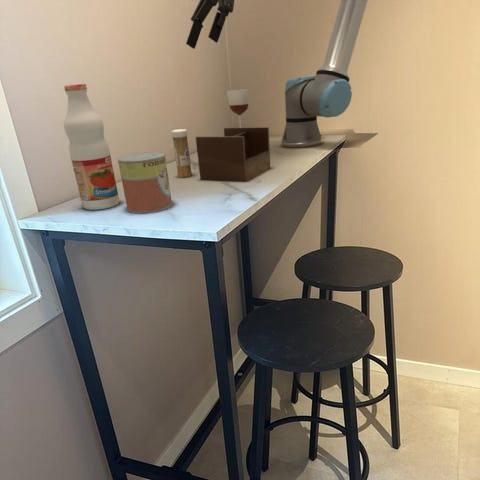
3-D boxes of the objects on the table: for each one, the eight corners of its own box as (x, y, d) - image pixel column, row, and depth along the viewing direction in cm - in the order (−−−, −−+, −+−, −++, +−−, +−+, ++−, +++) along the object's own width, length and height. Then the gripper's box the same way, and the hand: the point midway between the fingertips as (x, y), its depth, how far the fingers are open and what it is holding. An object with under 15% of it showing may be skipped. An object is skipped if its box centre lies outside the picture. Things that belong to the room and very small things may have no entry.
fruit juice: (97, 199, 125) (72, 84, 112) (127, 200, 122) (104, 82, 108) (75, 209, 118) (44, 87, 104) (105, 211, 114) (78, 84, 101)
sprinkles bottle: (188, 177, 141) (182, 130, 135) (175, 177, 143) (168, 131, 136) (194, 174, 145) (189, 128, 139) (181, 174, 147) (175, 129, 140)
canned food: (163, 212, 109) (155, 160, 104) (119, 213, 112) (109, 162, 106) (178, 199, 119) (171, 151, 113) (137, 200, 121) (128, 153, 115)
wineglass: (232, 143, 194) (228, 90, 184) (253, 142, 193) (250, 88, 183) (229, 146, 187) (225, 92, 178) (251, 145, 186) (247, 90, 176)
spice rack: (228, 167, 151) (225, 127, 146) (270, 168, 145) (268, 127, 139) (200, 179, 138) (195, 137, 132) (245, 181, 131) (242, 136, 125)
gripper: (196, -33, 134) (171, 41, 137) (241, -59, 114) (211, 28, 118) (216, -16, 138) (192, 55, 142) (263, -39, 119) (234, 44, 122)
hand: (201, 43), depth 130 cm, fingers open, 13 cm apart
